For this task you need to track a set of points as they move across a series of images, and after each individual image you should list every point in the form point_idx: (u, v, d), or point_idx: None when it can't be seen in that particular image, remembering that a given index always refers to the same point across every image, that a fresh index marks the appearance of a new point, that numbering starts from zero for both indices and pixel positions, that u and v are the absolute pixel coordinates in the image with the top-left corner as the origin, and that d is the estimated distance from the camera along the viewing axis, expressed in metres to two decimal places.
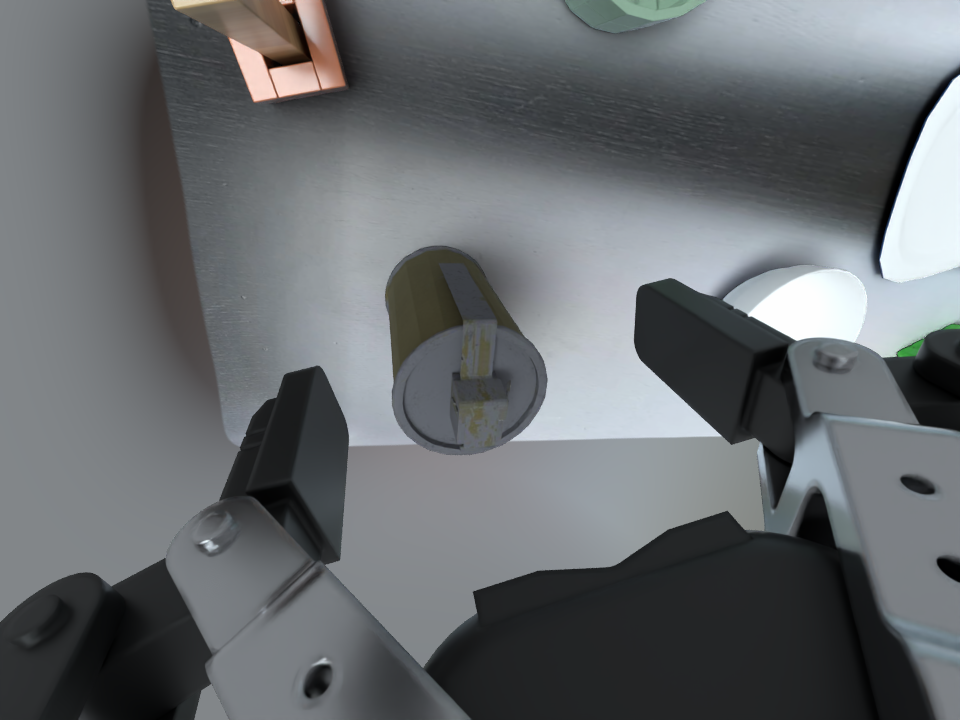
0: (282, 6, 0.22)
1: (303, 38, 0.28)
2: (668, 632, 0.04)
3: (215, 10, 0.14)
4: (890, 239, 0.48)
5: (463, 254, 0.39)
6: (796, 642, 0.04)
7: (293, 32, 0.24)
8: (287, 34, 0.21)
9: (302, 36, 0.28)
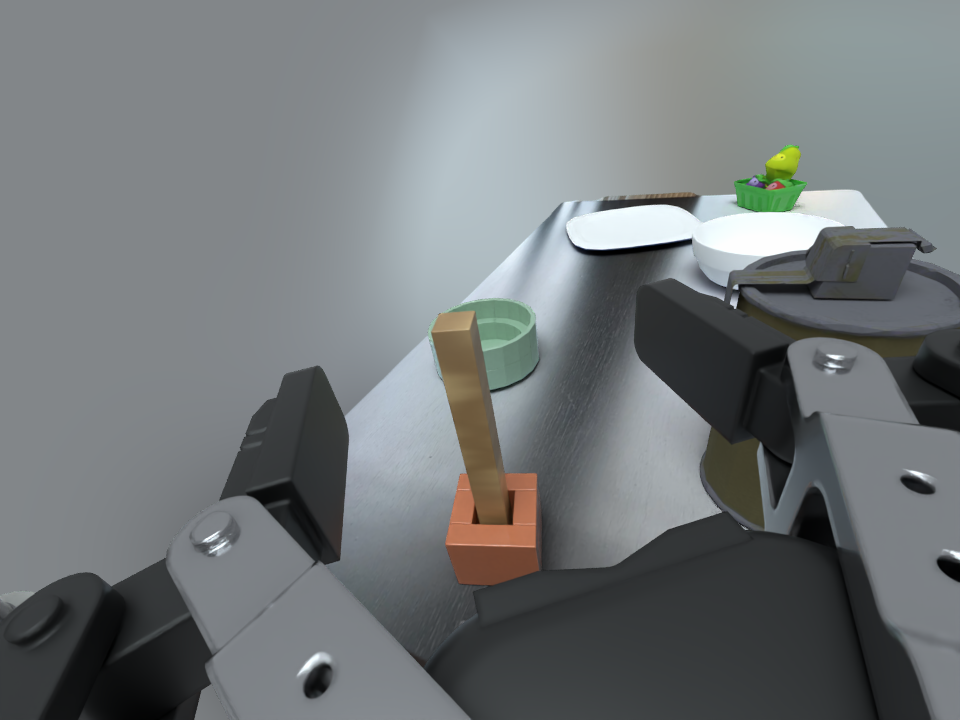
0: None
1: None
2: (668, 632, 0.04)
3: (475, 334, 0.21)
4: (674, 238, 0.74)
5: None
6: (796, 642, 0.04)
7: None
8: None
9: None
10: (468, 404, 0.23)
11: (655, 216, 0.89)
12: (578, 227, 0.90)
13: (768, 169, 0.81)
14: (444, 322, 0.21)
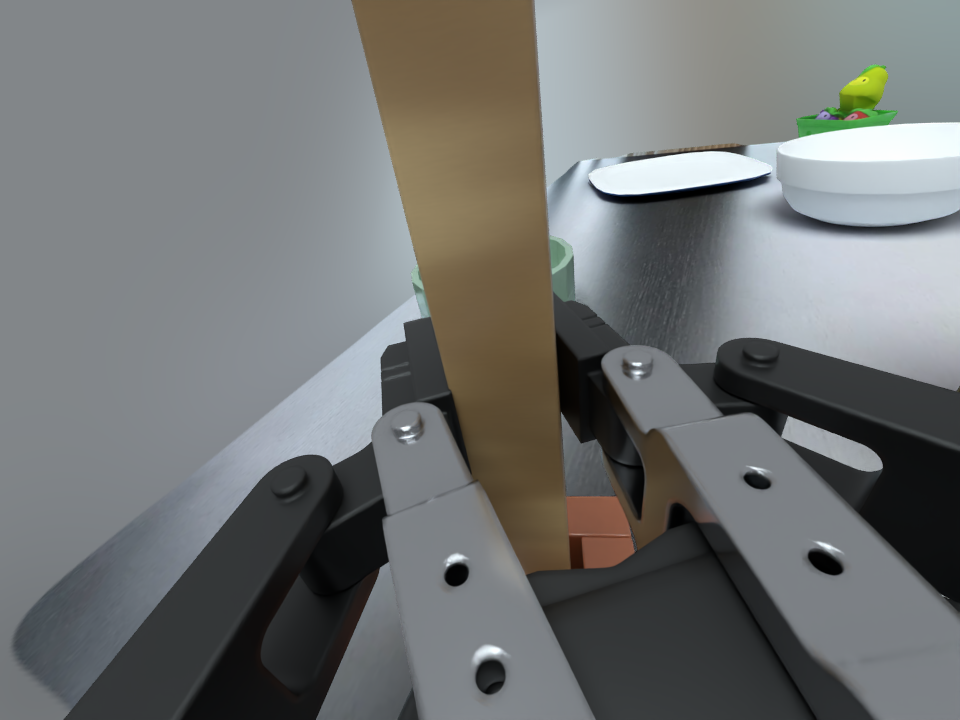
0: None
1: None
2: (668, 632, 0.04)
3: None
4: (734, 178, 0.58)
5: None
6: (796, 642, 0.04)
7: None
8: None
9: None
10: (490, 271, 0.06)
11: (699, 163, 0.72)
12: (603, 177, 0.74)
13: (844, 98, 0.65)
14: None
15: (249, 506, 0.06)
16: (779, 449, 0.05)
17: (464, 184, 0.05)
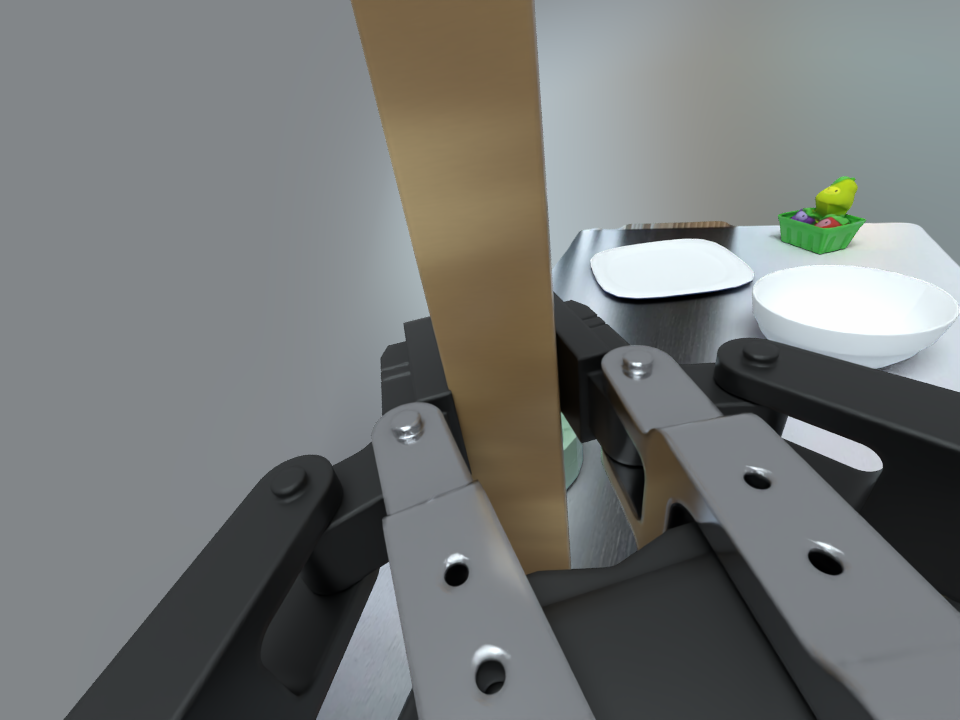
0: None
1: None
2: (668, 632, 0.04)
3: None
4: (720, 286, 0.66)
5: None
6: (796, 642, 0.04)
7: None
8: None
9: None
10: (490, 272, 0.06)
11: (690, 253, 0.80)
12: (604, 265, 0.81)
13: (819, 203, 0.73)
14: None
15: (249, 506, 0.06)
16: (779, 449, 0.05)
17: (464, 185, 0.05)
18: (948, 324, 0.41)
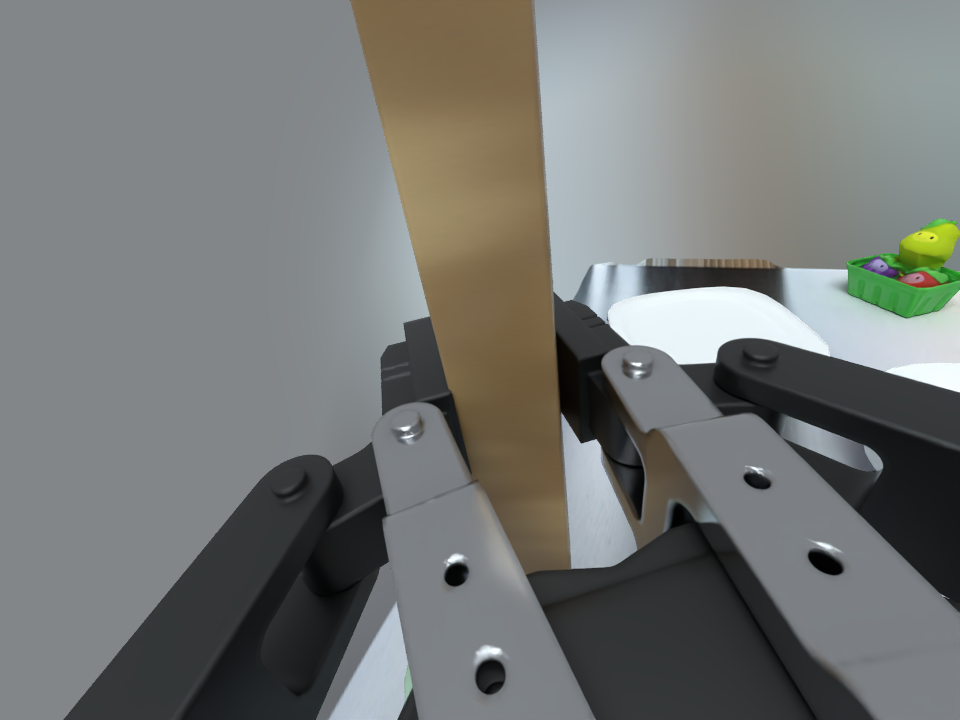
0: None
1: None
2: (668, 632, 0.04)
3: None
4: None
5: None
6: (796, 642, 0.04)
7: None
8: None
9: None
10: (490, 272, 0.06)
11: (734, 308, 0.64)
12: (626, 322, 0.65)
13: (907, 252, 0.56)
14: None
15: (248, 506, 0.06)
16: (779, 449, 0.05)
17: (463, 184, 0.05)
18: None
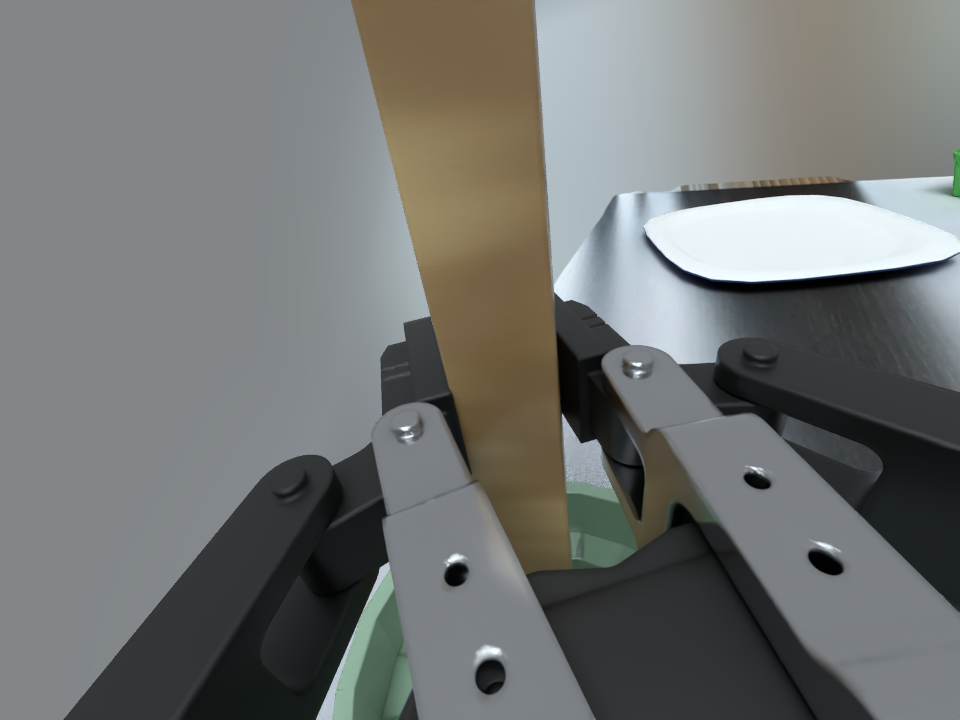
0: None
1: None
2: (668, 632, 0.04)
3: None
4: (907, 260, 0.36)
5: None
6: (796, 642, 0.04)
7: None
8: None
9: None
10: (490, 271, 0.06)
11: (807, 215, 0.50)
12: (668, 234, 0.52)
13: None
14: None
15: (249, 506, 0.06)
16: (779, 449, 0.05)
17: (464, 184, 0.05)
18: None
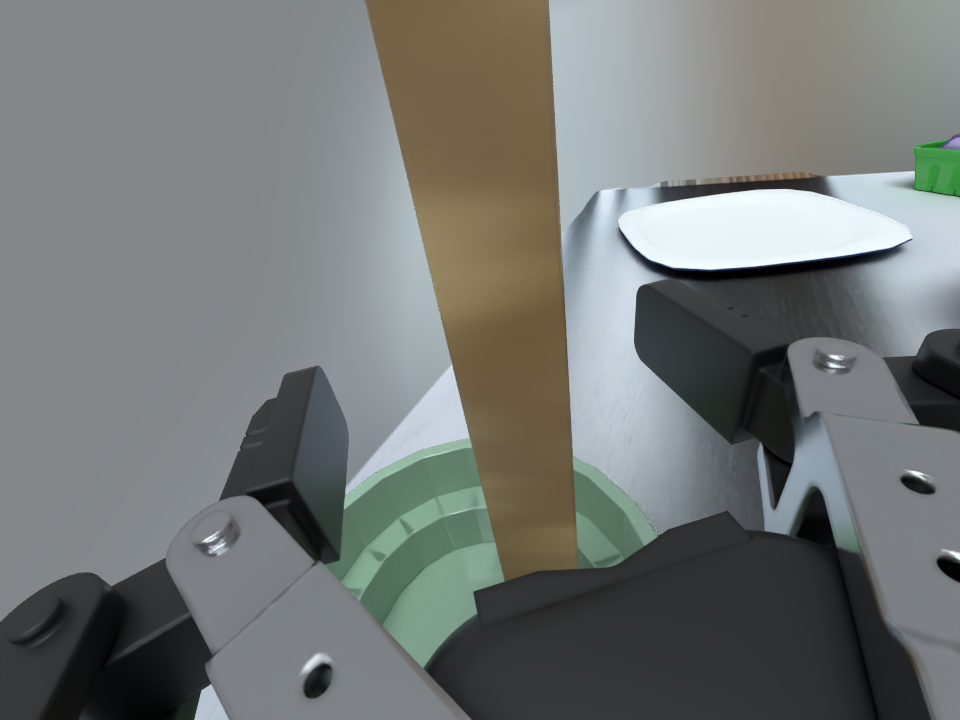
0: None
1: None
2: (668, 632, 0.04)
3: None
4: (857, 248, 0.38)
5: None
6: (796, 642, 0.04)
7: None
8: None
9: None
10: (509, 327, 0.07)
11: (773, 208, 0.52)
12: (640, 226, 0.53)
13: None
14: None
15: None
16: None
17: (487, 254, 0.06)
18: None
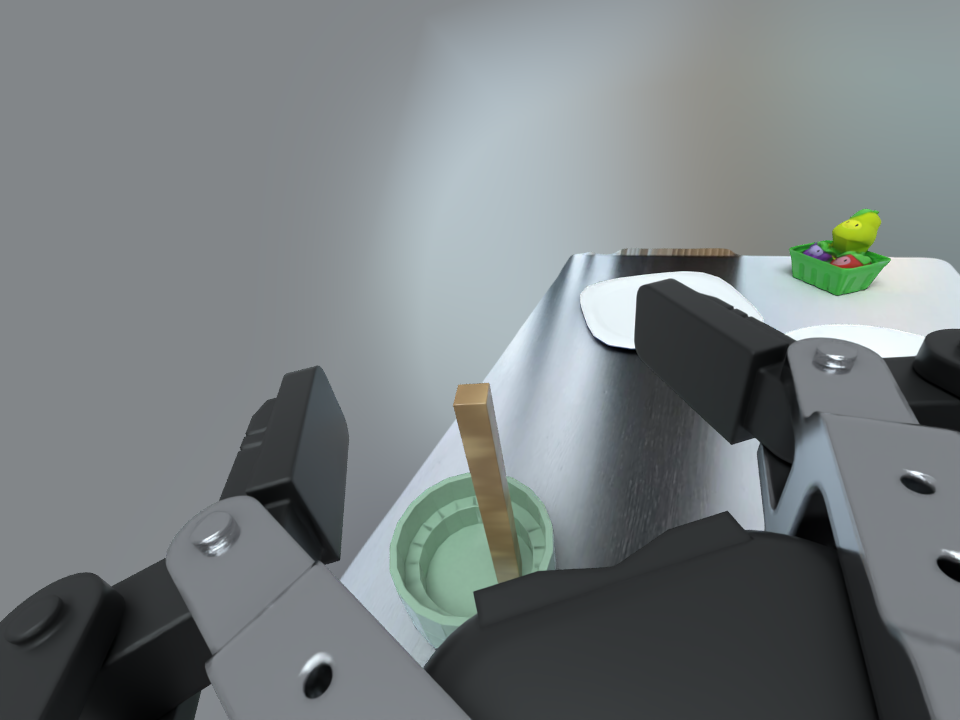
0: None
1: None
2: (668, 632, 0.04)
3: (490, 403, 0.25)
4: None
5: None
6: (796, 642, 0.04)
7: None
8: None
9: None
10: (483, 460, 0.26)
11: None
12: (595, 302, 0.73)
13: (837, 238, 0.64)
14: (464, 395, 0.25)
15: None
16: None
17: (477, 446, 0.26)
18: None
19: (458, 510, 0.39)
